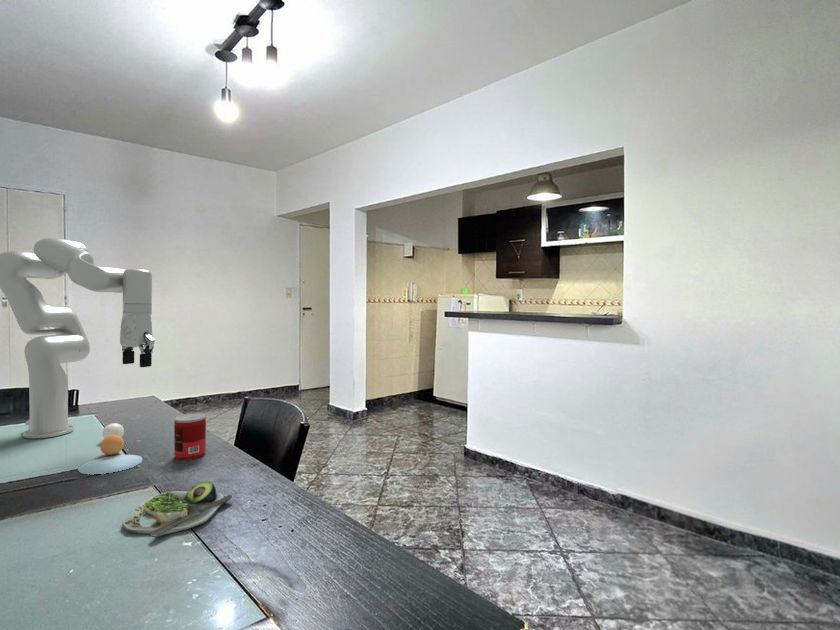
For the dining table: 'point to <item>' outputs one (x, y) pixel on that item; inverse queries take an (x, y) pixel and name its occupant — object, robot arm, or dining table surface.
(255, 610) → the dining table surface
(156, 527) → the avocado toast plate
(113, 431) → the white egg
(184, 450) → the canned food
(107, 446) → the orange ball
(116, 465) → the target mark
